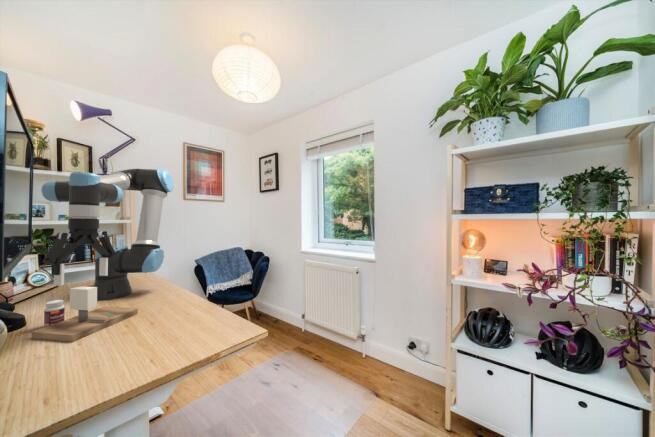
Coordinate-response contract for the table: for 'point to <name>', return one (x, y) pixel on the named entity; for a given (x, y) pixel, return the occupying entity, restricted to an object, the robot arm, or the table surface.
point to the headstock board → (83, 324)
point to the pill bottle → (54, 312)
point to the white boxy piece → (84, 301)
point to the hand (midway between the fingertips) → (82, 279)
